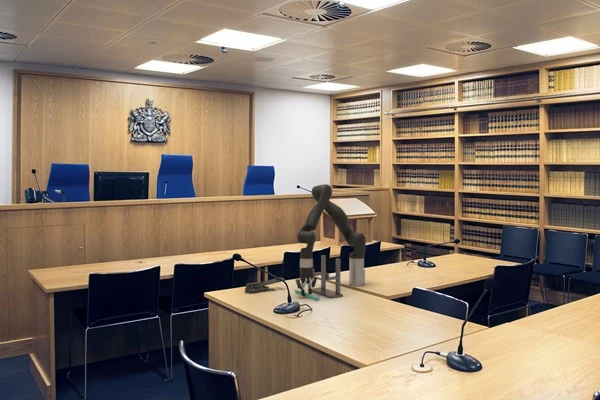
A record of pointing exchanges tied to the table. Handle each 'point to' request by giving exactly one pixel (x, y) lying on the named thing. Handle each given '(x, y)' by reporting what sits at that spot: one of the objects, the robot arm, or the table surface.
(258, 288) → the dark grey elongated piece
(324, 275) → the hook rack
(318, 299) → the teal rail
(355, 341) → the table surface
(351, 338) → the table surface
